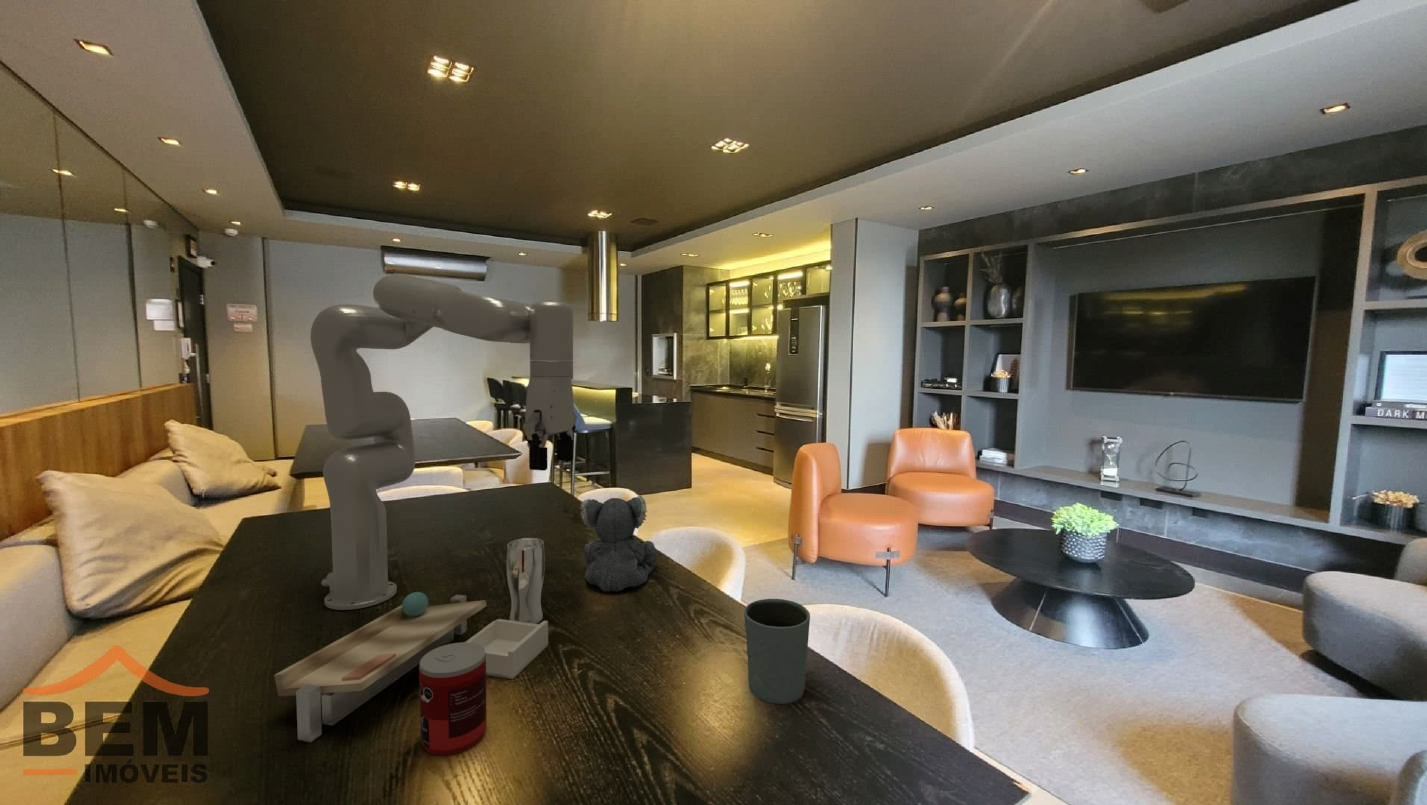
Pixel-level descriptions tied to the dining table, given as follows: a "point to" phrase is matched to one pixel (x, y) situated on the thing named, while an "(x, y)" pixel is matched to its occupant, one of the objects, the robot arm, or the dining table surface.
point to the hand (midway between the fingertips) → (552, 464)
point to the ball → (415, 604)
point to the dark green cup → (776, 649)
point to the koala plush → (617, 544)
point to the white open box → (511, 645)
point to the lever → (373, 649)
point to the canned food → (452, 697)
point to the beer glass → (525, 579)
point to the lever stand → (346, 702)
